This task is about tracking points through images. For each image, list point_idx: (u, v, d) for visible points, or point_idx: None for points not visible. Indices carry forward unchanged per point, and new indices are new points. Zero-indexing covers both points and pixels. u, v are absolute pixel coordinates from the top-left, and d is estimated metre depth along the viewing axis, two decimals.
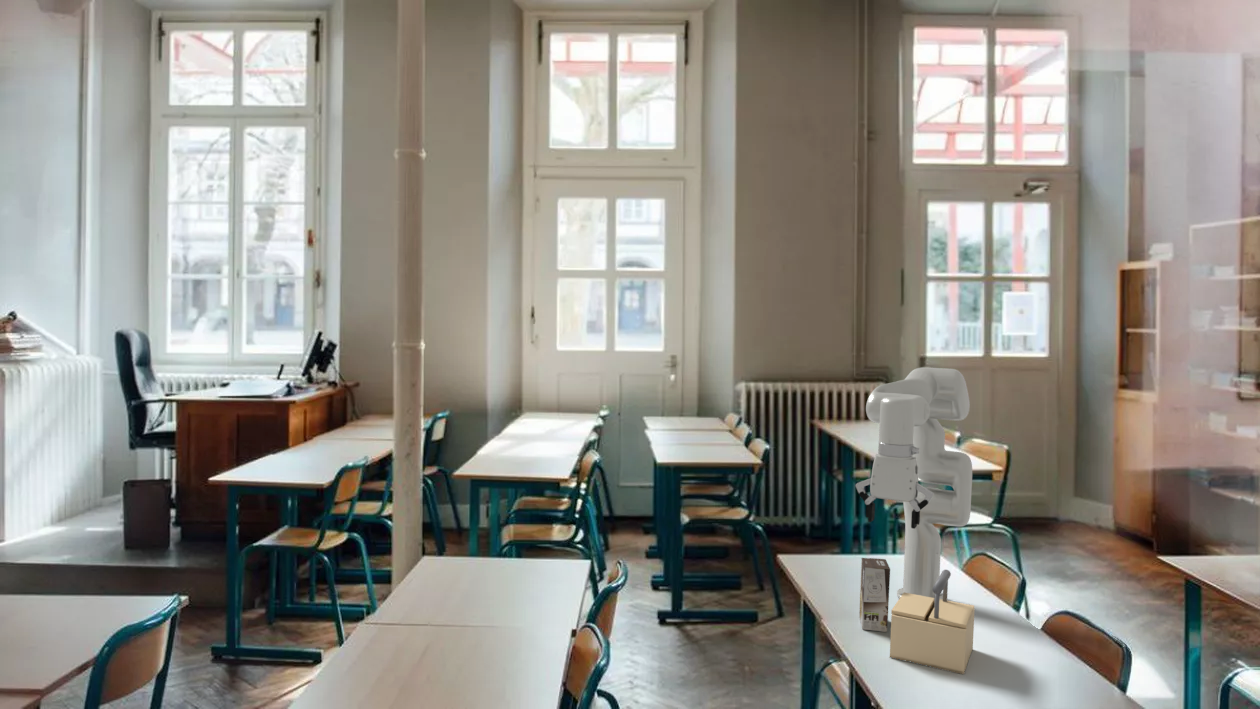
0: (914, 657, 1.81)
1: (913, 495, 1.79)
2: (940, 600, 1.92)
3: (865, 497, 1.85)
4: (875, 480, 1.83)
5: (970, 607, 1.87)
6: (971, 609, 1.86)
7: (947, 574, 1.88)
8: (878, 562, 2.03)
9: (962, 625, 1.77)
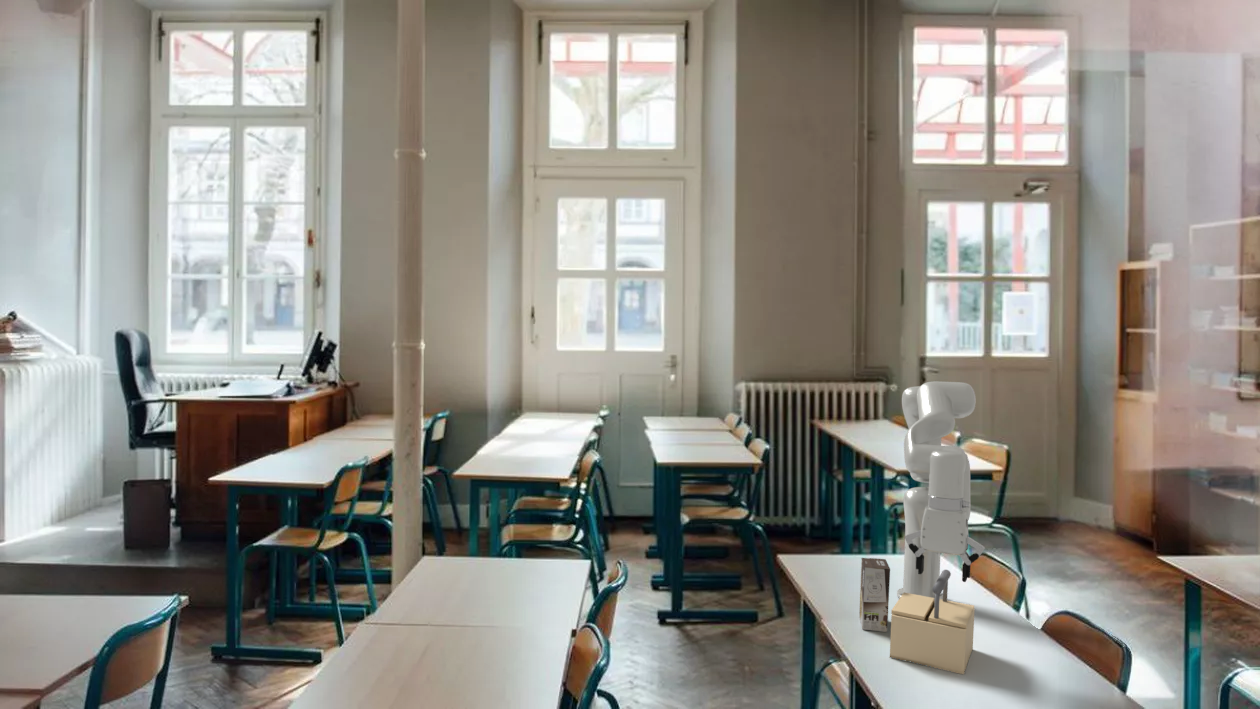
0: (914, 657, 1.81)
1: (964, 549, 1.81)
2: (940, 600, 1.92)
3: (915, 549, 1.87)
4: (925, 533, 1.84)
5: (970, 607, 1.87)
6: (971, 609, 1.86)
7: (947, 574, 1.88)
8: (878, 562, 2.04)
9: (962, 625, 1.77)
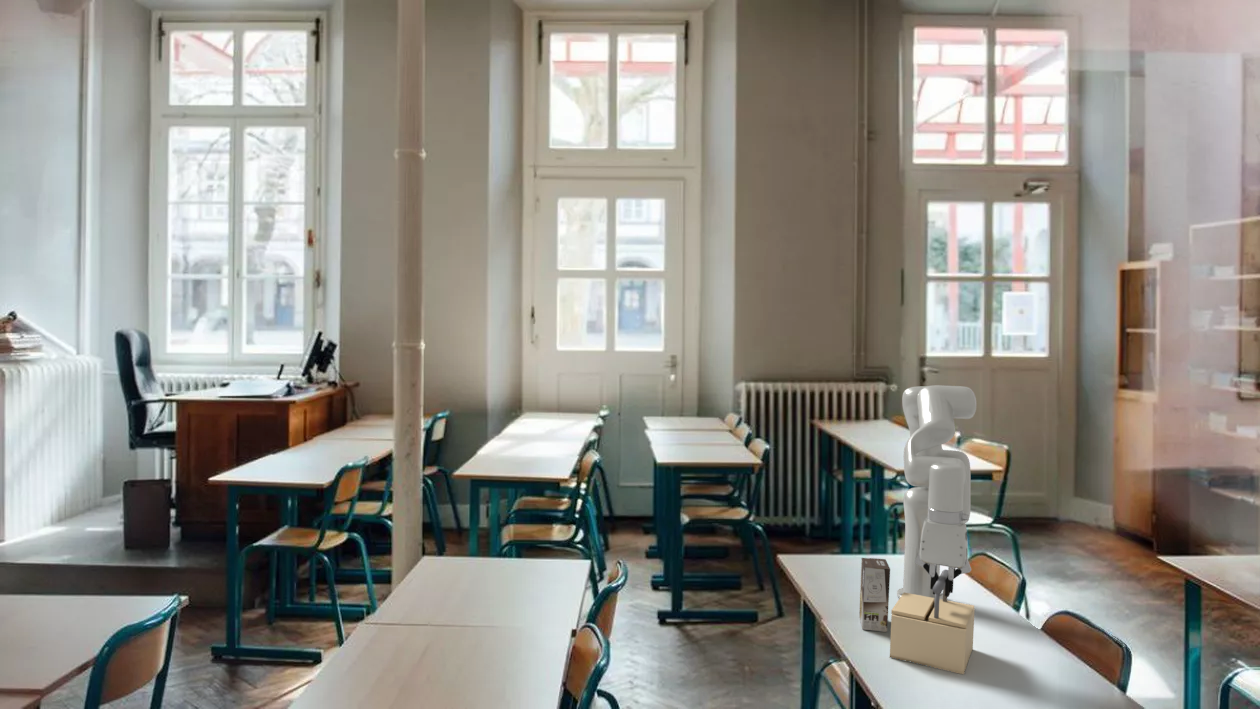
0: (914, 657, 1.81)
1: (963, 561, 1.81)
2: (940, 600, 1.92)
3: (929, 569, 1.86)
4: (925, 545, 1.85)
5: (970, 607, 1.87)
6: (971, 609, 1.86)
7: (947, 574, 1.88)
8: (878, 562, 2.04)
9: (962, 625, 1.77)
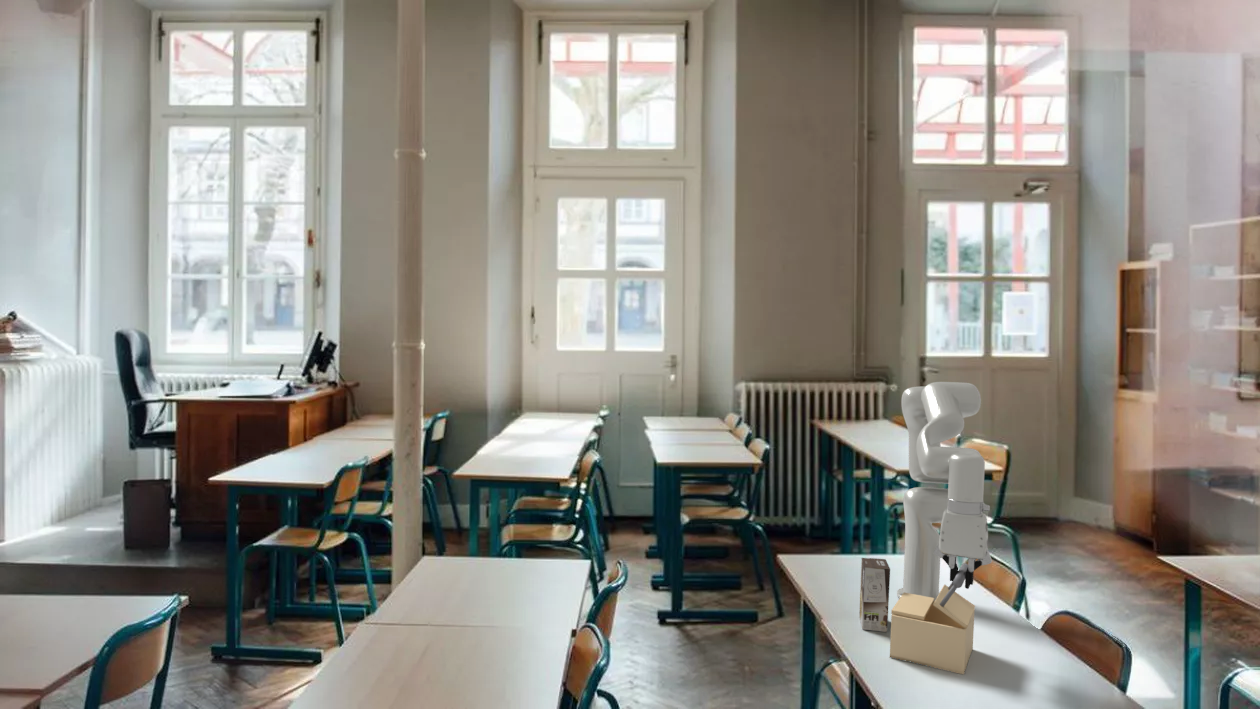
0: (914, 657, 1.81)
1: (984, 553, 1.79)
2: (946, 586, 1.91)
3: (949, 561, 1.84)
4: (944, 536, 1.83)
5: (971, 606, 1.87)
6: (972, 609, 1.86)
7: None
8: (878, 562, 2.03)
9: (963, 624, 1.76)
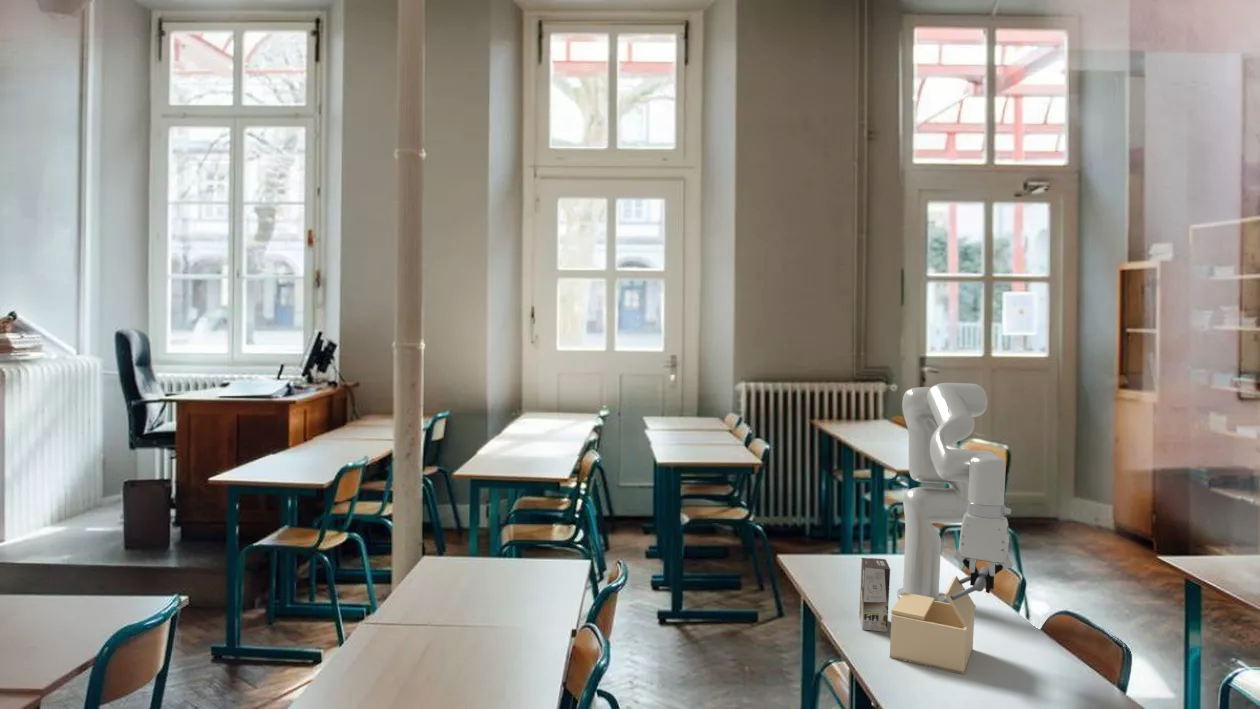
0: (914, 657, 1.81)
1: (1005, 557, 1.76)
2: (957, 578, 1.89)
3: None
4: (964, 540, 1.80)
5: (973, 606, 1.87)
6: (973, 609, 1.86)
7: None
8: (878, 562, 2.03)
9: (965, 623, 1.76)
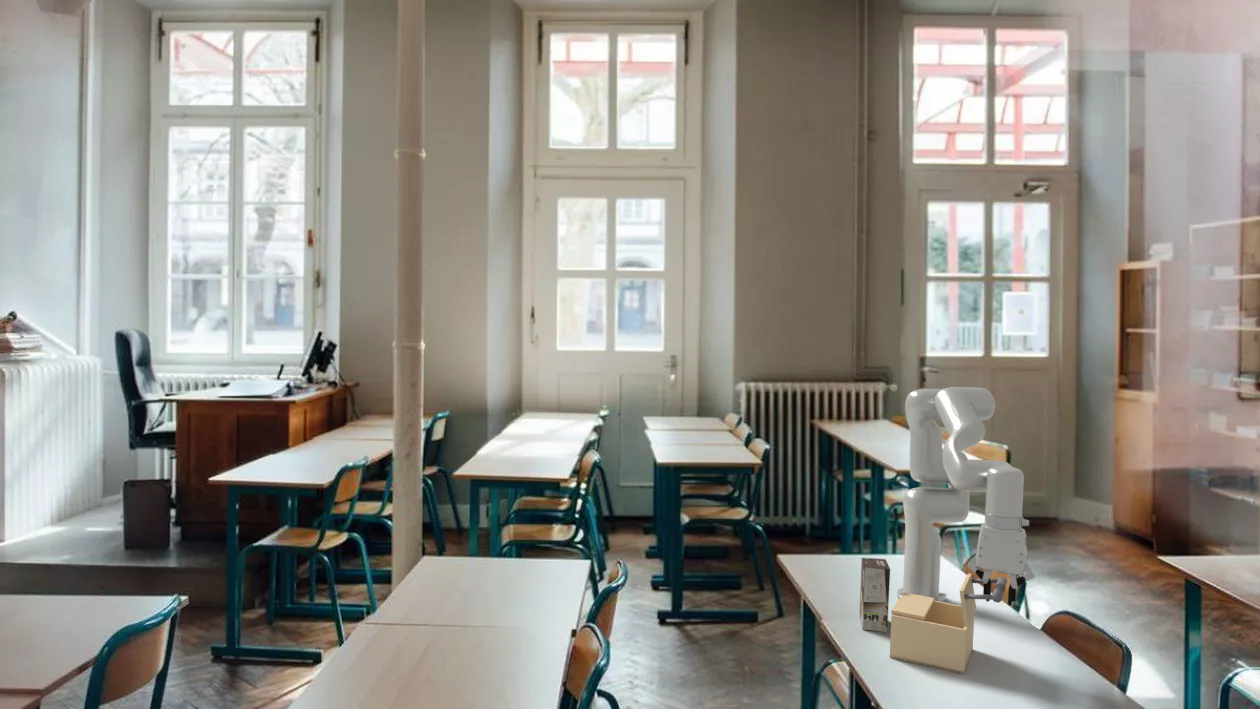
0: (914, 657, 1.81)
1: (1023, 569, 1.75)
2: (971, 576, 1.88)
3: (982, 575, 1.80)
4: (982, 552, 1.79)
5: (974, 607, 1.87)
6: (974, 610, 1.86)
7: None
8: (878, 562, 2.04)
9: (966, 623, 1.76)
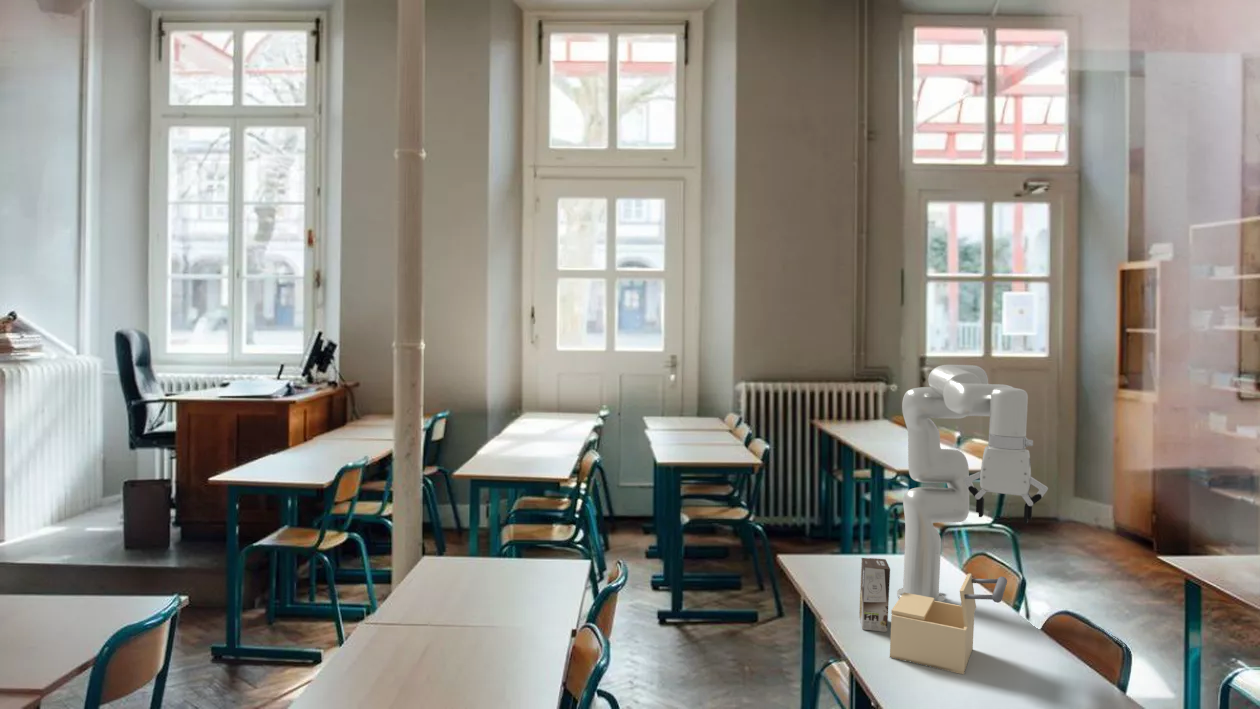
0: (914, 657, 1.81)
1: (1027, 488, 1.74)
2: (971, 576, 1.88)
3: (975, 492, 1.80)
4: (986, 473, 1.78)
5: (974, 607, 1.87)
6: (974, 610, 1.86)
7: None
8: (878, 562, 2.03)
9: (966, 623, 1.76)
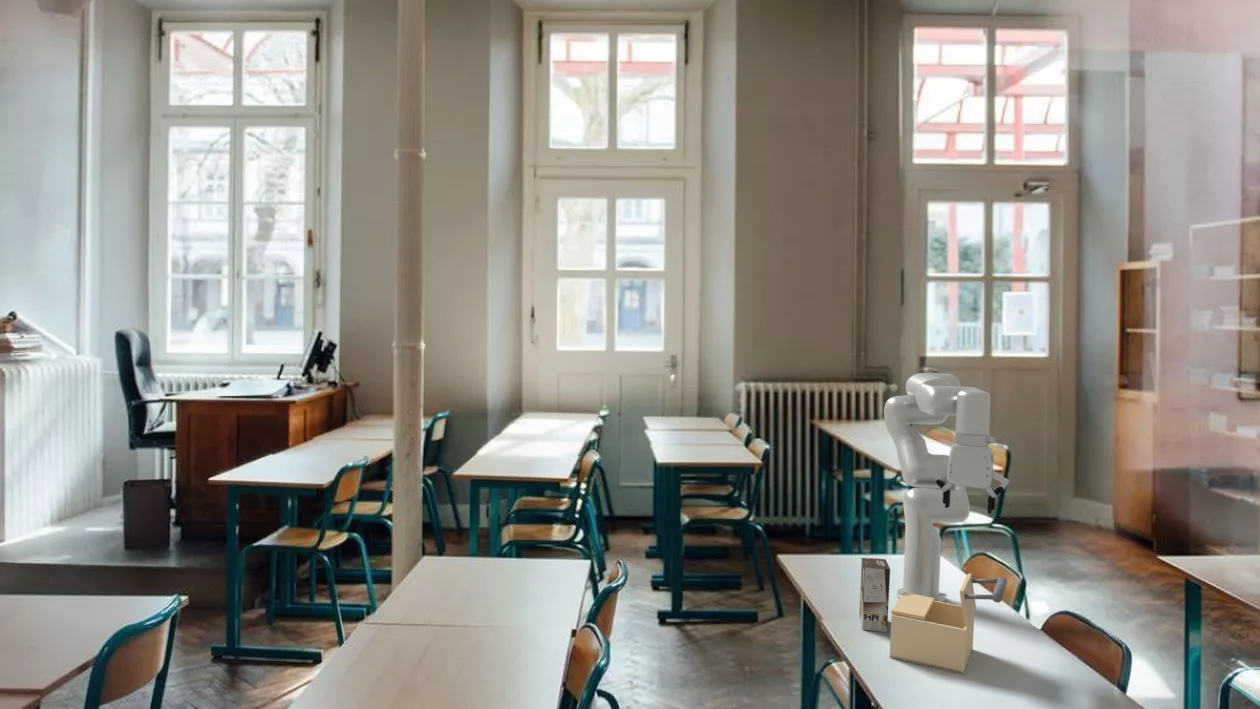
0: (914, 657, 1.81)
1: (990, 482, 1.90)
2: (971, 576, 1.88)
3: (942, 484, 1.97)
4: (952, 468, 1.94)
5: (974, 607, 1.87)
6: (974, 610, 1.86)
7: None
8: (878, 562, 2.03)
9: (966, 623, 1.76)
